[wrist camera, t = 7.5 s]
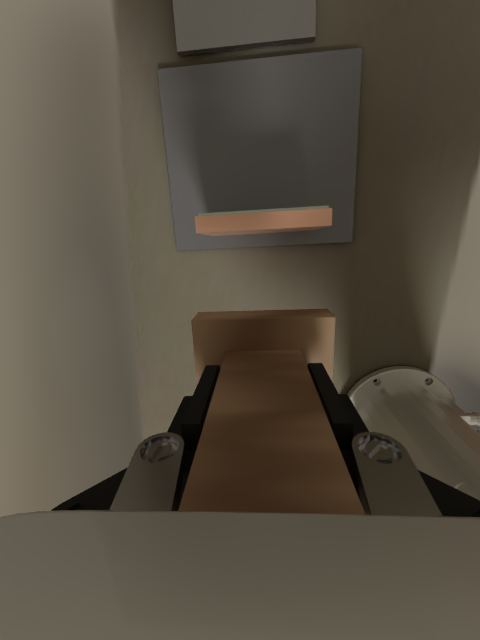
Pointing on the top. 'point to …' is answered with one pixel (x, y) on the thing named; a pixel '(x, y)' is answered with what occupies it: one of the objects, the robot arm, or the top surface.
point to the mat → (263, 142)
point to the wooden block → (267, 417)
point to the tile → (264, 221)
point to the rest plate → (241, 24)
